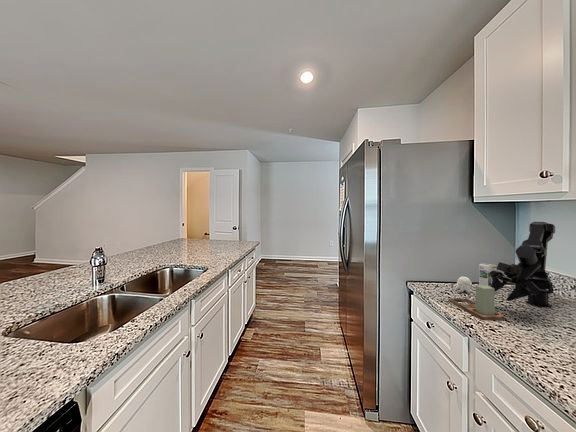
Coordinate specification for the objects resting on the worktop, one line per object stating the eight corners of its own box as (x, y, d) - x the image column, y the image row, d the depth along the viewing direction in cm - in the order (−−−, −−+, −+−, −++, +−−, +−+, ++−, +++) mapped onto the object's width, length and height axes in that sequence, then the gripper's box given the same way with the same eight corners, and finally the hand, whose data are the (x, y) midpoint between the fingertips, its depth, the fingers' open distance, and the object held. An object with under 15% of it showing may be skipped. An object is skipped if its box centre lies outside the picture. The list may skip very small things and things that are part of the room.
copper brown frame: (466, 300, 126) (466, 297, 126) (504, 319, 104) (504, 316, 104) (448, 301, 126) (448, 298, 126) (482, 320, 104) (482, 316, 104)
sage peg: (486, 313, 111) (486, 285, 111) (494, 317, 106) (494, 288, 106) (475, 313, 111) (475, 285, 111) (483, 317, 106) (483, 288, 106)
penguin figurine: (458, 276, 138) (453, 273, 149) (458, 293, 137) (454, 288, 148) (472, 277, 135) (466, 274, 146) (473, 294, 134) (467, 290, 146)
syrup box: (478, 290, 141) (478, 264, 141) (485, 289, 143) (485, 263, 143) (490, 293, 136) (490, 266, 136) (497, 292, 138) (496, 264, 138)
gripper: (493, 252, 118) (469, 277, 118) (531, 260, 99) (502, 289, 99) (510, 269, 118) (486, 294, 118) (552, 280, 99) (523, 309, 99)
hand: (498, 296), depth 109 cm, fingers open, 9 cm apart
